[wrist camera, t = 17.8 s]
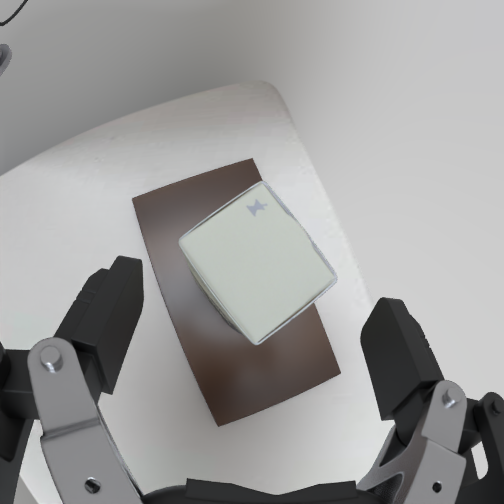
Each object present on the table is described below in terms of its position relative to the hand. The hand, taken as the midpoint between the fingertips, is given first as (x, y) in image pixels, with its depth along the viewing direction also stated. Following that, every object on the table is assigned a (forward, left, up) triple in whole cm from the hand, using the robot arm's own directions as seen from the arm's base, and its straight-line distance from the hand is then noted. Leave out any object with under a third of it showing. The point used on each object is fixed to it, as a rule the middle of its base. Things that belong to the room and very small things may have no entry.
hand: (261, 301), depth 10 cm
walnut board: (-1, +1, -15) cm, 15 cm away
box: (-2, +1, -14) cm, 14 cm away
